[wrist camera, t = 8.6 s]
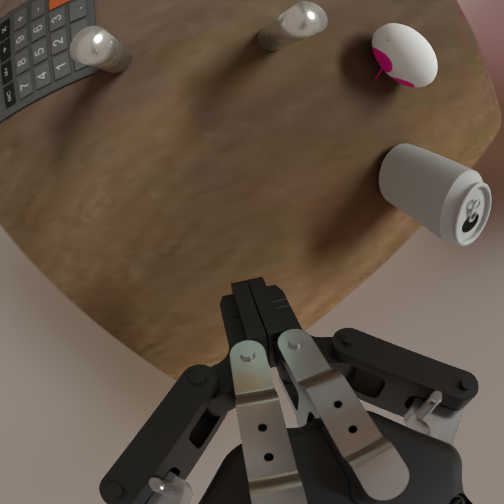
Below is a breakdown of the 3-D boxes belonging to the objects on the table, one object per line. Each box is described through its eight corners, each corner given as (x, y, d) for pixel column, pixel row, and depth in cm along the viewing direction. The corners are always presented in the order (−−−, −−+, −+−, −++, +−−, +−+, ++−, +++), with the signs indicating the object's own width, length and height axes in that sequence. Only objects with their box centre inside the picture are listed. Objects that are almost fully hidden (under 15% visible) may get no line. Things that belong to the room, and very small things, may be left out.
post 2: (256, 27, 18) (289, -1, 11) (283, 27, 18) (325, 4, 11) (258, 51, 19) (293, 32, 12) (285, 50, 19) (329, 35, 13)
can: (376, 210, 30) (447, 265, 20) (370, 149, 26) (456, 189, 16) (420, 191, 30) (490, 236, 20) (417, 136, 26) (499, 168, 16)
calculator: (100, 69, 16) (-23, 137, 14) (103, 70, 17) (-18, 135, 15) (91, -32, 10) (-31, 43, 8) (94, -29, 11) (-27, 43, 9)
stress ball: (340, 47, 22) (349, 67, 19) (388, 6, 16) (410, 17, 13) (386, 90, 25) (402, 118, 22) (432, 54, 19) (458, 78, 16)
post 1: (103, 52, 16) (68, 34, 9) (130, 44, 16) (106, 20, 9) (106, 76, 17) (70, 68, 10) (133, 68, 17) (108, 55, 11)
